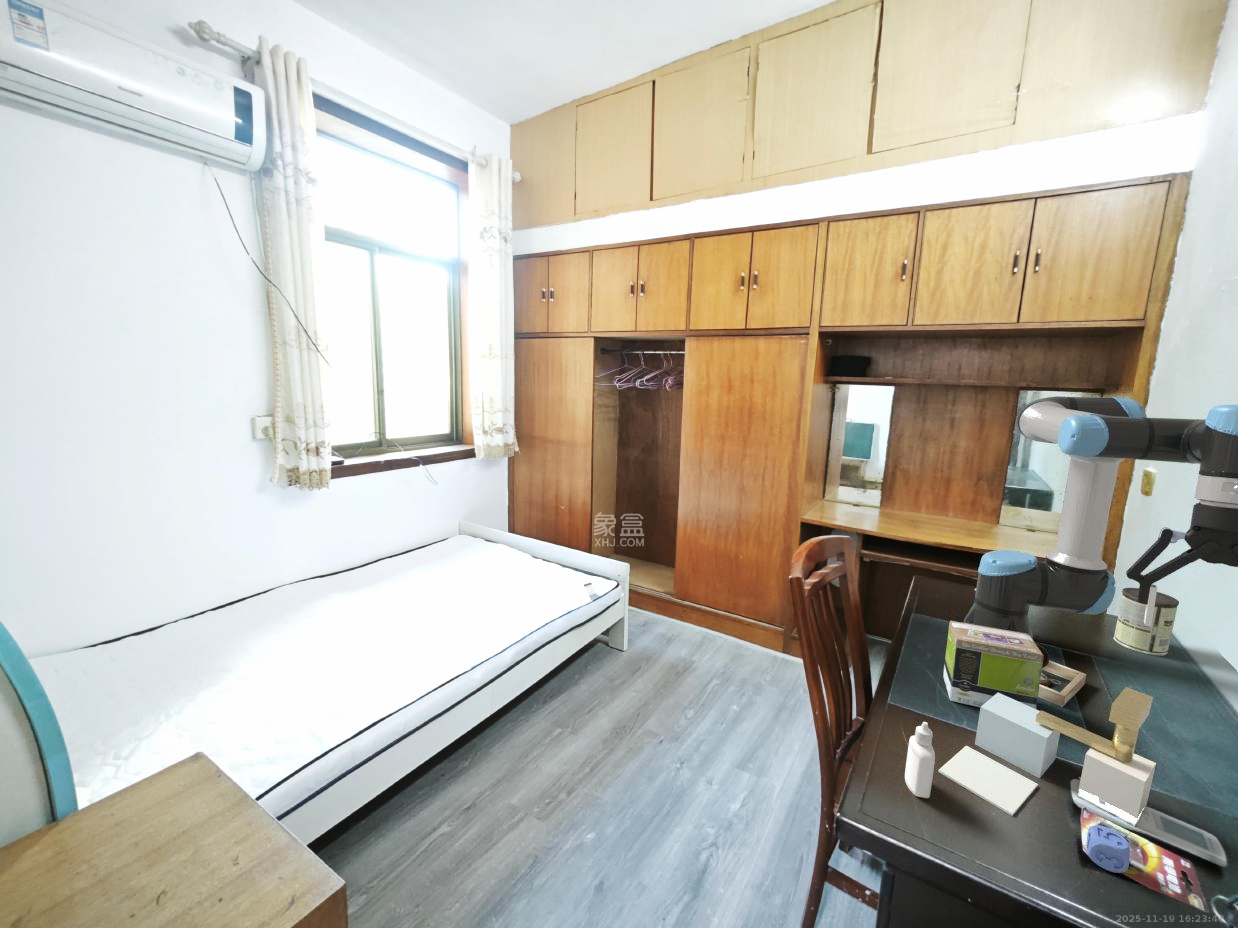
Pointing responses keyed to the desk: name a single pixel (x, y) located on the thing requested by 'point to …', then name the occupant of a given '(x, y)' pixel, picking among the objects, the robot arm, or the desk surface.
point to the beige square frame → (1069, 690)
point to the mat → (989, 779)
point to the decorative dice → (1108, 849)
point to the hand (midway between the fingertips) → (1208, 637)
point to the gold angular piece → (1124, 713)
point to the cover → (1016, 734)
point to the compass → (1044, 679)
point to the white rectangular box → (1118, 780)
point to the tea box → (991, 665)
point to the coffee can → (1136, 632)
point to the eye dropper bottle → (920, 762)
